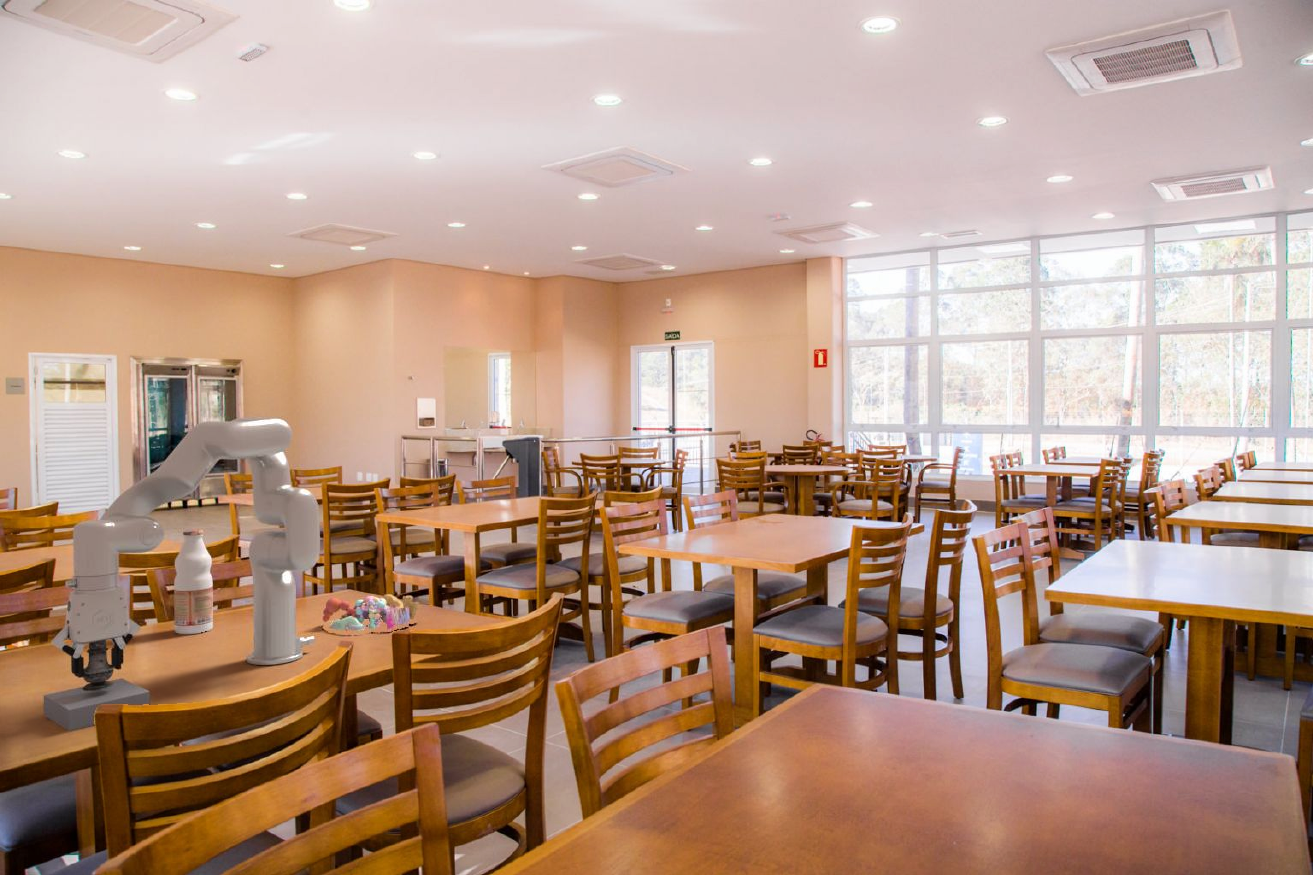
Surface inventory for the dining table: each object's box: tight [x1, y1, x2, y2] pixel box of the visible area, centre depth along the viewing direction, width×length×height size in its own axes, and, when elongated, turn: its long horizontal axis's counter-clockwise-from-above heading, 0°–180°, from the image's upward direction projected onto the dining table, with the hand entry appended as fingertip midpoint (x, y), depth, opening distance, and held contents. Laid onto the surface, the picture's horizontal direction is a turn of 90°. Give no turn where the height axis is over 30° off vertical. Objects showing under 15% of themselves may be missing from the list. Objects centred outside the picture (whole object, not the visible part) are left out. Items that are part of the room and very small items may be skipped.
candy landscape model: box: [322, 594, 420, 631], centre depth 242 cm, size 25×24×9 cm
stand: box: [43, 678, 151, 732], centre depth 169 cm, size 14×14×4 cm
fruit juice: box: [173, 529, 214, 635], centre depth 235 cm, size 9×9×28 cm
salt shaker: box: [82, 640, 116, 691], centre depth 169 cm, size 6×6×12 cm
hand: (97, 671), depth 169 cm, fingers closed on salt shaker, 6 cm apart
